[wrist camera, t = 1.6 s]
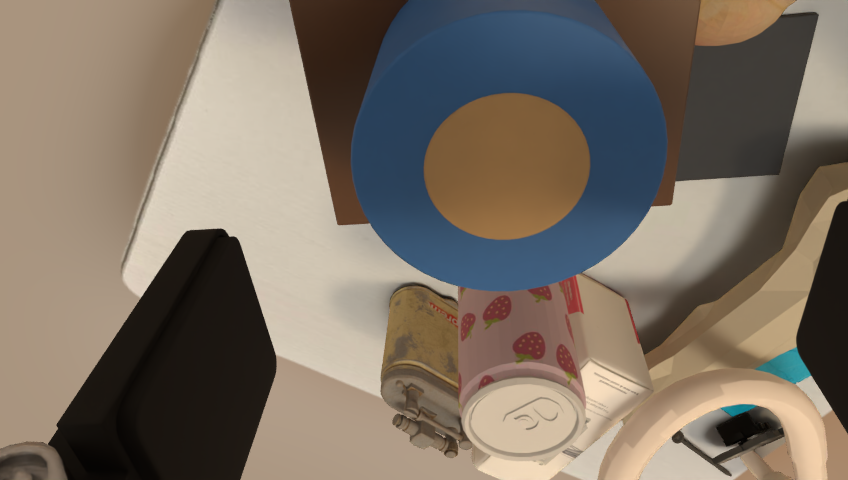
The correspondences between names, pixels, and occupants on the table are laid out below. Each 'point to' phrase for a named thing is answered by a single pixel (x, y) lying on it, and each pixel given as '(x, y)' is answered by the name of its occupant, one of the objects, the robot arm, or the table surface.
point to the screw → (696, 450)
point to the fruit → (736, 20)
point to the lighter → (424, 369)
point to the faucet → (712, 393)
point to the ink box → (590, 376)
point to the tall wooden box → (368, 23)
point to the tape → (506, 141)
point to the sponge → (781, 366)
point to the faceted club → (756, 298)
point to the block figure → (744, 437)
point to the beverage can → (518, 372)
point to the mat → (744, 102)
